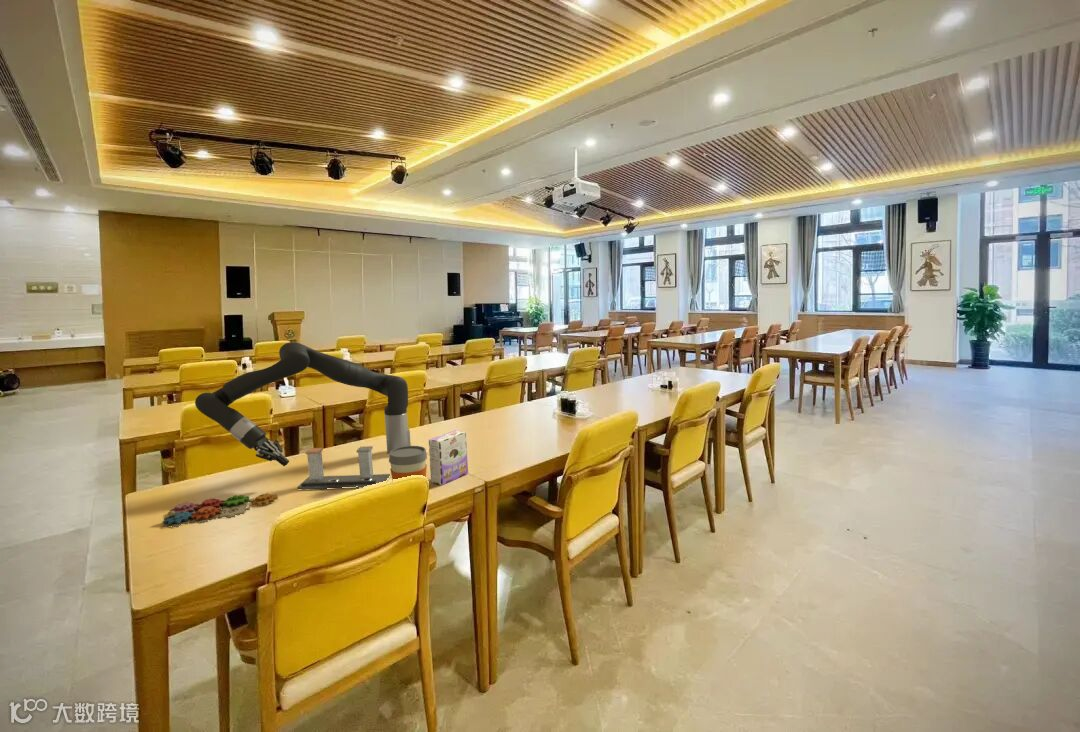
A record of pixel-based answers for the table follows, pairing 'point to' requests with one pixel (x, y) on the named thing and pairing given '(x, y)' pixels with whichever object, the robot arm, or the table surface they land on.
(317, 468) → the sliding pointer
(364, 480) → the bolt plate
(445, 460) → the candy box
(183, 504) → the gear puzzle
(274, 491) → the table surface
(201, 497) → the table surface
